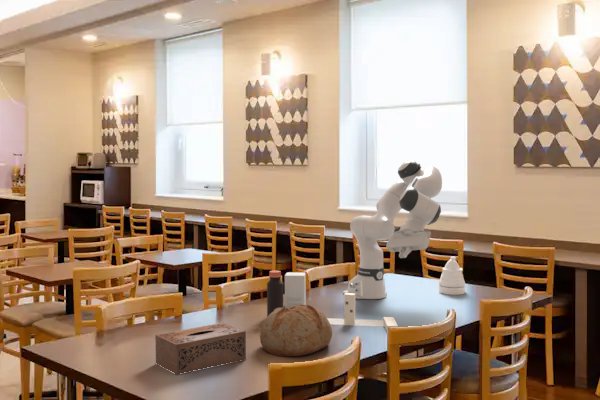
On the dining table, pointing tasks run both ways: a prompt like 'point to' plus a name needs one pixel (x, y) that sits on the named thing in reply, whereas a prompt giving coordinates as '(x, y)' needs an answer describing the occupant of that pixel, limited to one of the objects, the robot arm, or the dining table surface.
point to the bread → (295, 331)
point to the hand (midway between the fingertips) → (402, 257)
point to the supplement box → (295, 289)
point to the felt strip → (357, 322)
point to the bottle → (274, 292)
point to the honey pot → (452, 279)
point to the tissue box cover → (200, 347)
